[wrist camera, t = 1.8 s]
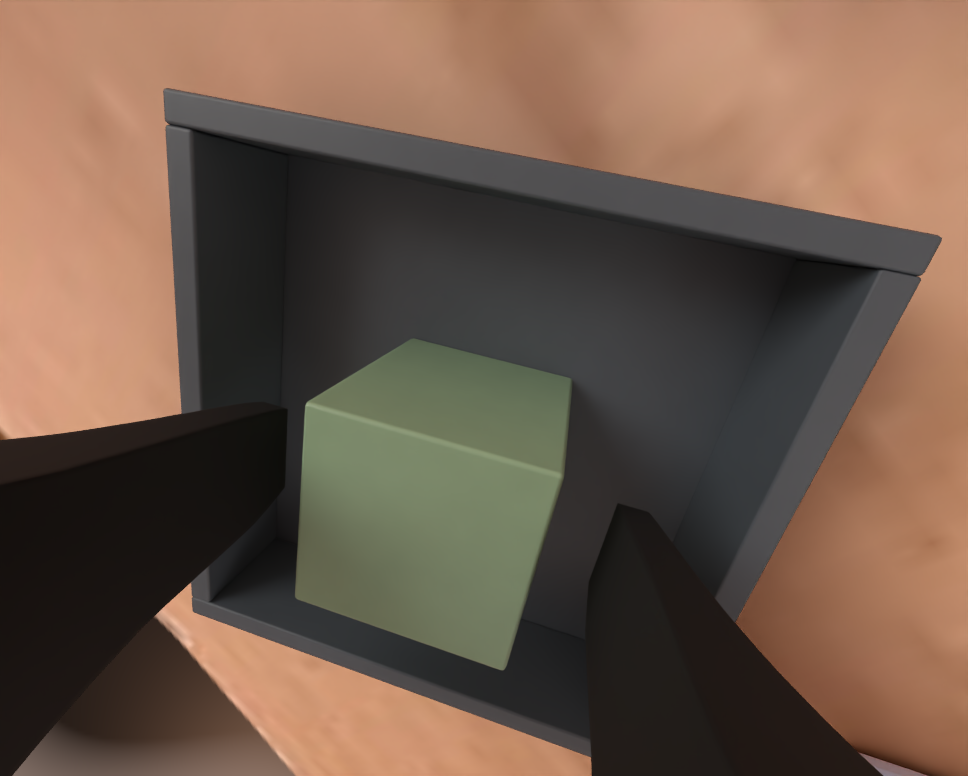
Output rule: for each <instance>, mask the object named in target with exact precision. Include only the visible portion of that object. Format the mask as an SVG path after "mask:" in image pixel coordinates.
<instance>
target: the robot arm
mask: <svg viewBox="0 0 968 776" xmlns="http://www.w3.org/2000/svg"><path fill="white" fill-rule="evenodd" d="M287 419H288V409H287V408H284V407H280V406H277V405H273V404H270V403H266V402H251V403H242V404H235V405H229V406H223V407H217V408H211V409H206V410H200V411H195V412H189V413H184V414H178V415H173V416H167V417H162V418H157V419H151V420H145V421H139V422H133V423H127V424H120V425H114V426H108V427H102V428H96V429H89V430H83V431H76V432H69V433H61V434H53V435H45V436H37V437H27V438H17V439H7V440H0V776H12V775H13V774H14V773H15V771H16V770H17V769H18V768H19V767H20V766H21V764H22V763H23V762H24V761H25V760H26V758H27V757H28V756H29V755H30V753H31V752H32V751H33V750H34V748H35V747H36V746H37V745H38V744H39V743H40V741H41V740H42V739H43V738H44V737H45V735H46V734H47V733H48V732H49V731H50V730H51V729H52V728H53V726H54V725H55V724H56V723H57V722H58V721H59V720H60V718H61V717H62V716H63V715H64V714H65V712H67V710H68V709H69V708H70V707H71V706H72V705H73V703H74V702H75V701H76V700H77V699H78V698H79V697H80V696H81V694H82V693H83V692H84V691H85V690H86V689H87V688H88V686H89V685H90V684H91V683H92V682H93V681H94V680H95V678H96V677H97V676H98V675H99V674H100V673H101V672H102V671H103V670H104V669H105V667H107V665H108V664H109V663H110V662H111V661H112V660H113V659H114V658H115V657H116V655H118V654H119V652H120V651H121V650H122V649H123V648H124V647H125V646H126V645H127V644H128V643H129V642H130V641H131V640H132V638H133V637H134V636H135V635H136V634H137V633H138V632H139V631H140V630H141V628H143V627H144V626H145V625H146V624H147V623H148V622H149V621H150V620H151V619H152V618H153V617H154V616H155V615H156V614H157V613H158V612H159V611H160V610H161V609H162V608H163V607H164V606H165V605H166V604H168V603H169V602H170V601H171V600H172V599H173V598H174V597H175V596H176V595H177V594H179V593H180V592H181V591H182V590H183V589H184V588H185V587H186V586H187V585H188V584H190V583H191V582H192V581H193V580H194V579H195V578H196V577H197V576H198V575H199V574H201V573H202V572H203V571H204V570H205V569H206V568H207V567H208V566H209V565H210V564H212V563H213V562H214V561H215V560H216V559H217V558H218V557H219V556H220V555H222V554H223V553H224V552H225V551H226V550H227V549H228V548H229V547H230V546H231V545H232V544H233V543H235V542H236V541H237V540H238V539H239V538H240V537H241V536H242V535H243V534H244V533H245V532H246V531H247V530H248V529H250V528H251V527H252V526H253V525H254V524H255V523H256V522H257V520H258V519H259V518H260V517H261V516H262V515H263V513H264V512H265V511H266V510H267V509H268V508H269V507H270V505H271V504H272V503H273V502H274V500H275V499H276V498H277V497H278V495H279V494H280V493H281V492H282V490H283V489H284V488H285V472H286V446H287ZM585 639H586V663H587V683H588V703H589V723H590V742H591V762H592V776H928V775H925V774H922V773H919V772H916V771H913V770H910V769H907V768H904V767H901V766H898V765H895V764H892V763H889V762H886V761H883V760H880V759H877V758H874V757H871V756H868V755H865V754H862V753H858V752H857V751H856V750H855V749H854V748H853V747H852V746H851V745H850V744H849V743H848V742H847V741H846V740H845V739H844V738H843V737H842V736H841V735H840V734H839V733H838V732H837V731H836V730H835V729H834V728H833V727H831V726H830V725H829V724H828V723H827V722H826V721H825V720H824V719H823V718H822V717H821V716H820V715H819V713H818V712H817V711H816V710H815V709H814V708H813V707H812V706H811V705H810V704H809V703H808V702H807V701H806V700H805V699H804V698H803V697H802V696H801V695H800V694H799V693H798V692H797V691H796V690H795V689H794V688H793V687H792V686H791V685H790V684H789V682H788V681H787V680H786V679H785V678H784V677H783V676H782V675H781V674H780V673H779V672H778V671H777V670H776V669H775V668H774V667H773V666H772V664H771V663H770V662H769V661H768V660H767V659H766V658H765V657H764V656H763V655H762V653H761V652H760V651H759V650H758V649H757V648H756V647H755V645H754V644H753V643H752V642H751V641H750V640H749V638H748V637H747V636H746V635H745V634H744V633H743V631H742V630H741V629H740V628H739V627H738V626H737V624H736V623H735V622H734V621H733V620H732V619H731V618H730V616H729V615H728V614H727V613H726V611H725V610H724V609H723V608H722V607H721V605H720V604H719V603H718V602H717V600H716V599H715V598H714V597H713V595H712V594H711V593H710V592H709V590H708V589H707V588H706V587H705V585H704V584H703V583H702V581H701V580H700V579H699V578H698V576H697V575H696V574H695V572H694V571H693V570H692V568H691V567H690V566H689V564H688V563H687V562H686V560H685V559H684V558H683V556H682V555H681V554H680V552H679V551H678V550H677V548H676V547H675V546H674V544H673V543H672V542H671V540H670V539H669V537H668V536H667V535H666V533H665V532H664V531H663V529H662V528H661V527H660V525H659V524H658V523H657V521H656V520H655V519H654V518H653V516H652V515H651V514H650V513H649V512H647V511H643V510H640V509H636V508H633V507H629V506H626V505H622V504H619V503H617V506H616V509H615V511H614V514H613V517H612V520H611V522H610V525H609V528H608V531H607V533H606V536H605V539H604V542H603V544H602V547H601V550H600V553H599V555H598V558H597V561H596V563H595V566H594V569H593V572H592V574H591V577H590V580H589V585H588V597H587V610H586V626H585Z"/></svg>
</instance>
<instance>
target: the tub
mask: <svg viewBox="0 0 968 776" xmlns="http://www.w3.org/2000/svg"><path fill="white" fill-rule="evenodd" d="M163 93H164V111H165V121H166V122H167V123H168V124H170V125H167V126H166V145H167V163H168V181H169V198H170V216H171V234H172V251H173V269H174V287H175V304H176V322H177V340H178V357H179V375H180V393H181V410H182V414H184V413H189V412H195V411H200V410H206V409H211V408H217V407H223V406H229V405H235V404H242V403H251V402H266V403H270V404H273V405H277V406H280V407H284V408H287V409H288V419H287V446H286V472H285V488H284V489H283V490H282V492H281V493H280V494H279V495H278V497H277V498H276V499H275V500H274V502H273V503H272V504H271V505H270V507H269V508H268V509H267V510H266V511H265V512H264V513H263V515H262V516H261V517H260V518H259V519H258V520H257V522H256V523H255V524H254V525H253V526H252V527H251V528H250V529H248V530H247V531H246V532H245V533H244V534H243V535H242V536H241V537H240V538H239V539H238V540H237V541H236V542H235V543H233V544H232V545H231V546H230V547H229V548H228V549H227V550H226V551H225V552H224V553H223V554H222V555H220V556H219V557H218V558H217V559H216V560H215V561H214V562H213V563H212V564H210V565H209V566H208V567H207V568H206V569H205V570H204V571H203V572H202V573H201V574H199V575H198V576H197V577H196V578H195V579H194V580H193V581H192V582H191V587H192V596H193V597H192V607H193V612H195V613H197V614H200V615H203V616H205V617H208V618H211V619H214V620H216V621H219V622H222V623H225V624H227V625H230V626H233V627H236V628H238V629H241V630H244V631H247V632H249V633H252V634H255V635H258V636H260V637H263V638H266V639H268V640H271V641H274V642H277V643H279V644H282V645H285V646H288V647H290V648H293V649H296V650H299V651H301V652H304V653H307V654H310V655H312V656H315V657H318V658H321V659H323V660H326V661H329V662H331V663H334V664H337V665H340V666H342V667H345V668H348V669H351V670H353V671H356V672H359V673H362V674H364V675H367V676H370V677H373V678H375V679H378V680H381V681H383V682H386V683H389V684H392V685H394V686H397V687H400V688H403V689H405V690H408V691H411V692H414V693H416V694H419V695H422V696H425V697H427V698H430V699H433V700H436V701H438V702H441V703H444V704H446V705H449V706H452V707H455V708H457V709H460V710H463V711H466V712H468V713H471V714H474V715H477V716H479V717H482V718H485V719H488V720H490V721H493V722H496V723H499V724H501V725H504V726H507V727H509V728H512V729H515V730H518V731H520V732H523V733H526V734H529V735H531V736H534V737H537V738H540V739H542V740H545V741H548V742H551V743H553V744H556V745H559V746H562V747H564V748H567V749H570V750H572V751H575V752H578V753H581V754H583V755H586V756H589V757H591V742H590V723H589V703H588V683H587V663H586V639H585V626H586V610H587V597H588V585H589V580H590V577H591V574H592V572H593V569H594V566H595V563H596V561H597V558H598V555H599V553H600V550H601V547H602V544H603V542H604V539H605V536H606V533H607V531H608V528H609V525H610V522H611V520H612V517H613V514H614V511H615V509H616V506H617V503H619V504H622V505H626V506H629V507H633V508H636V509H640V510H643V511H647V512H649V513H650V514H651V515H652V516H653V518H654V519H655V520H656V521H657V523H658V524H659V525H660V527H661V528H662V529H663V531H664V532H665V533H666V535H667V536H668V537H669V539H670V540H671V542H672V543H673V544H674V546H675V547H676V548H677V550H678V551H679V552H680V554H681V555H682V556H683V558H684V559H685V560H686V562H687V563H688V564H689V566H690V567H691V568H692V570H693V571H694V572H695V574H696V575H697V576H698V578H699V579H700V580H701V581H702V583H703V584H704V585H705V587H706V588H707V589H708V590H709V592H710V593H711V594H712V595H713V597H714V598H715V599H716V600H717V602H718V603H719V604H720V605H721V607H722V608H723V609H724V610H725V611H726V613H727V614H728V615H729V616H730V618H731V619H732V620H733V621H734V622H736V620H737V618H738V616H739V614H740V613H741V611H742V609H743V607H744V605H745V603H746V602H747V600H748V598H749V596H750V594H751V592H752V590H753V589H754V587H755V585H756V583H757V581H758V579H759V578H760V576H761V574H762V572H763V570H764V568H765V567H766V565H767V563H768V561H769V559H770V557H771V555H772V554H773V552H774V550H775V548H776V546H777V544H778V543H779V541H780V539H781V537H782V535H783V533H784V532H785V530H786V528H787V526H788V524H789V522H790V521H791V519H792V517H793V515H794V513H795V511H796V509H797V508H798V506H799V504H800V502H801V500H802V498H803V497H804V495H805V493H806V491H807V489H808V487H809V486H810V484H811V482H812V480H813V478H814V476H815V474H816V473H817V471H818V469H819V467H820V465H821V463H822V462H823V460H824V458H825V456H826V454H827V452H828V451H829V449H830V447H831V445H832V443H833V441H834V439H835V438H836V436H837V434H838V432H839V430H840V428H841V427H842V425H843V423H844V421H845V419H846V417H847V416H848V414H849V412H850V410H851V408H852V406H853V405H854V403H855V401H856V399H857V397H858V395H859V393H860V392H861V390H862V388H863V386H864V384H865V382H866V381H867V379H868V377H869V375H870V373H871V371H872V370H873V368H874V366H875V364H876V362H877V360H878V358H879V357H880V355H881V353H882V351H883V349H884V347H885V346H886V344H887V342H888V340H889V338H890V336H891V335H892V333H893V331H894V329H895V327H896V325H897V324H898V322H899V320H900V318H901V316H902V314H903V312H904V311H905V309H906V307H907V305H908V303H909V301H910V300H911V298H912V296H913V294H914V292H915V290H916V289H917V287H918V285H919V283H920V281H921V278H919V277H917V276H920V275H922V274H923V273H924V272H925V270H926V269H927V267H928V265H929V263H930V261H931V259H932V257H933V256H934V254H935V252H936V250H937V248H938V246H939V245H940V243H941V240H942V238H941V237H940V236H938V235H934V234H929V233H923V232H918V231H913V230H908V229H902V228H897V227H892V226H887V225H881V224H876V223H871V222H866V221H861V220H855V219H850V218H845V217H840V216H834V215H829V214H824V213H819V212H813V211H808V210H803V209H798V208H793V207H787V206H782V205H777V204H772V203H766V202H761V201H756V200H751V199H745V198H740V197H735V196H730V195H725V194H719V193H714V192H709V191H704V190H698V189H693V188H688V187H683V186H677V185H672V184H667V183H662V182H656V181H651V180H646V179H641V178H636V177H630V176H625V175H620V174H615V173H609V172H604V171H599V170H594V169H588V168H583V167H578V166H573V165H568V164H562V163H557V162H552V161H547V160H541V159H536V158H531V157H526V156H520V155H515V154H510V153H505V152H500V151H494V150H489V149H484V148H479V147H473V146H468V145H463V144H458V143H452V142H447V141H442V140H437V139H431V138H426V137H421V136H416V135H411V134H405V133H400V132H395V131H390V130H384V129H379V128H374V127H369V126H363V125H358V124H353V123H348V122H343V121H337V120H332V119H327V118H322V117H316V116H311V115H306V114H301V113H295V112H290V111H285V110H280V109H275V108H269V107H264V106H259V105H254V104H248V103H243V102H238V101H233V100H227V99H222V98H217V97H212V96H207V95H201V94H196V93H191V92H186V91H180V90H175V89H170V88H166V89H164V91H163ZM413 338H414V339H418V340H422V341H426V342H430V343H434V344H438V345H442V346H446V347H450V348H454V349H458V350H461V351H465V352H469V353H473V354H477V355H481V356H485V357H489V358H493V359H497V360H501V361H505V362H509V363H513V364H516V365H520V366H524V367H528V368H532V369H536V370H540V371H544V372H548V373H552V374H556V375H560V376H564V377H568V378H571V379H572V382H573V383H572V394H571V405H570V416H569V427H568V438H567V449H566V461H565V472H564V479H563V483H562V486H561V489H560V493H559V496H558V499H557V502H556V506H555V509H554V512H553V516H552V519H551V522H550V525H549V529H548V532H547V535H546V538H545V542H544V545H543V548H542V552H541V555H540V558H539V561H538V565H537V568H536V571H535V575H534V578H533V581H532V584H531V588H530V591H529V594H528V598H527V601H526V604H525V607H524V611H523V614H522V617H521V620H520V624H519V627H518V630H517V634H516V637H515V640H514V643H513V647H512V650H511V653H510V657H509V660H508V663H507V666H506V668H505V669H504V670H499V669H496V668H493V667H490V666H487V665H484V664H481V663H479V662H476V661H473V660H470V659H467V658H464V657H461V656H459V655H456V654H453V653H450V652H447V651H444V650H441V649H438V648H436V647H433V646H430V645H427V644H424V643H421V642H418V641H416V640H413V639H410V638H407V637H404V636H401V635H398V634H395V633H393V632H390V631H387V630H384V629H381V628H378V627H375V626H372V625H370V624H367V623H364V622H361V621H358V620H355V619H352V618H350V617H347V616H344V615H341V614H338V613H335V612H332V611H329V610H327V609H324V608H321V607H318V606H315V605H312V604H309V603H307V602H304V601H301V600H298V599H297V598H296V597H295V585H296V567H297V548H298V530H299V511H300V493H301V474H302V456H303V437H304V419H305V406H306V403H307V402H308V401H309V400H311V399H313V398H314V397H316V396H318V395H319V394H321V393H323V392H324V391H326V390H328V389H329V388H331V387H333V386H334V385H336V384H338V383H339V382H341V381H343V380H344V379H346V378H348V377H349V376H351V375H352V374H354V373H356V372H357V371H359V370H361V369H362V368H364V367H366V366H367V365H369V364H371V363H372V362H374V361H376V360H377V359H379V358H381V357H382V356H384V355H386V354H387V353H389V352H391V351H392V350H394V349H396V348H397V347H399V346H400V345H402V344H404V343H405V342H407V341H409V340H410V339H413Z"/></svg>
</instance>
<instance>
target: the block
mask: <svg viewBox="0 0 968 776" xmlns="http://www.w3.org/2000/svg"><path fill="white" fill-rule="evenodd" d="M572 383H573V382H572V379H571V378H568V377H564V376H560V375H556V374H552V373H548V372H544V371H540V370H536V369H532V368H528V367H524V366H520V365H516V364H513V363H509V362H505V361H501V360H497V359H493V358H489V357H485V356H481V355H477V354H473V353H469V352H465V351H461V350H458V349H454V348H450V347H446V346H442V345H438V344H434V343H430V342H426V341H422V340H418V339H414V338H413V339H410V340H409V341H407V342H405V343H404V344H402V345H400V346H399V347H397V348H396V349H394V350H392V351H391V352H389V353H387V354H386V355H384V356H382V357H381V358H379V359H377V360H376V361H374V362H372V363H371V364H369V365H367V366H366V367H364V368H362V369H361V370H359V371H357V372H356V373H354V374H352V375H351V376H349V377H348V378H346V379H344V380H343V381H341V382H339V383H338V384H336V385H334V386H333V387H331V388H329V389H328V390H326V391H324V392H323V393H321V394H319V395H318V396H316V397H314V398H313V399H311V400H309V401H308V402H307V403H306V406H305V419H304V437H303V456H302V474H301V493H300V511H299V530H298V548H297V567H296V585H295V597H296V598H297V599H298V600H301V601H304V602H307V603H309V604H312V605H315V606H318V607H321V608H324V609H327V610H329V611H332V612H335V613H338V614H341V615H344V616H347V617H350V618H352V619H355V620H358V621H361V622H364V623H367V624H370V625H372V626H375V627H378V628H381V629H384V630H387V631H390V632H393V633H395V634H398V635H401V636H404V637H407V638H410V639H413V640H416V641H418V642H421V643H424V644H427V645H430V646H433V647H436V648H438V649H441V650H444V651H447V652H450V653H453V654H456V655H459V656H461V657H464V658H467V659H470V660H473V661H476V662H479V663H481V664H484V665H487V666H490V667H493V668H496V669H499V670H504V669H505V668H506V666H507V663H508V660H509V657H510V653H511V650H512V647H513V643H514V640H515V637H516V634H517V630H518V627H519V624H520V620H521V617H522V614H523V611H524V607H525V604H526V601H527V598H528V594H529V591H530V588H531V584H532V581H533V578H534V575H535V571H536V568H537V565H538V561H539V558H540V555H541V552H542V548H543V545H544V542H545V538H546V535H547V532H548V529H549V525H550V522H551V519H552V516H553V512H554V509H555V506H556V502H557V499H558V496H559V493H560V489H561V486H562V483H563V479H564V472H565V461H566V449H567V438H568V427H569V416H570V405H571V394H572Z"/></svg>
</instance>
